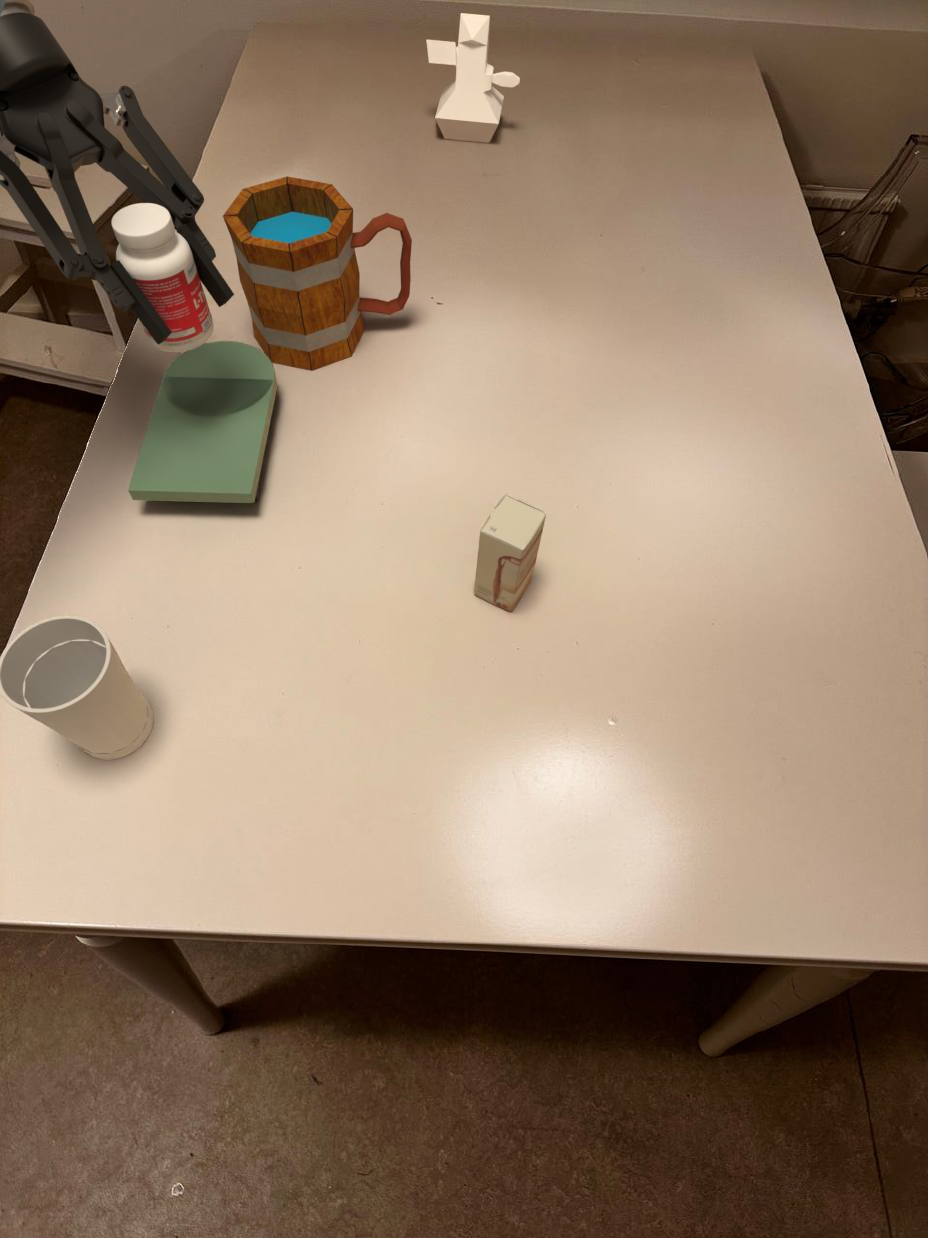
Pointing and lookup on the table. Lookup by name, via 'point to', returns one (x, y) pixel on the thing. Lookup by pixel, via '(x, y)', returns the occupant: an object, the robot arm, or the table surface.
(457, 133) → the white low-poly figurine
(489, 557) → the small juice carton
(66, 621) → the cup
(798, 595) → the table surface
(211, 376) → the green rounded-end slab
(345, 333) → the mug
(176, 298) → the pill bottle
